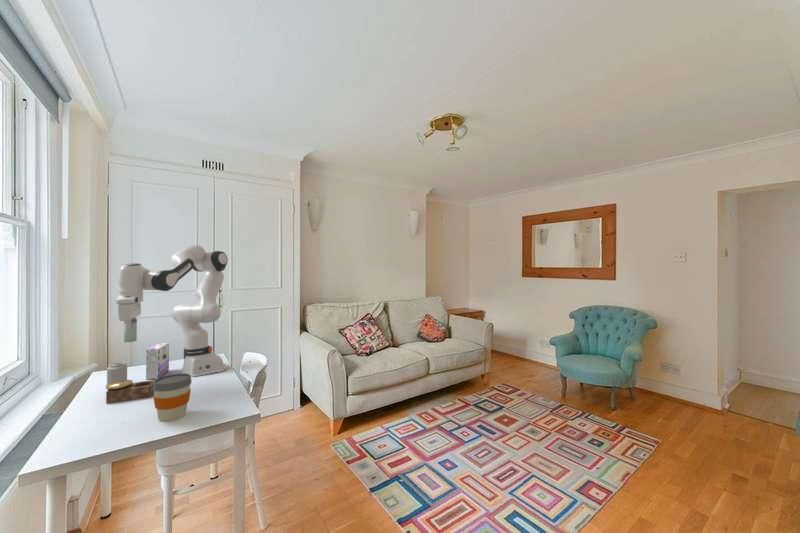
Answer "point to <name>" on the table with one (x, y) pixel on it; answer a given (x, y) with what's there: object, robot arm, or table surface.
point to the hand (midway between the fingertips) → (130, 327)
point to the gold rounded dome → (119, 384)
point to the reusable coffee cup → (171, 396)
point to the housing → (130, 392)
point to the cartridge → (131, 332)
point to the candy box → (157, 361)
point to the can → (116, 372)
